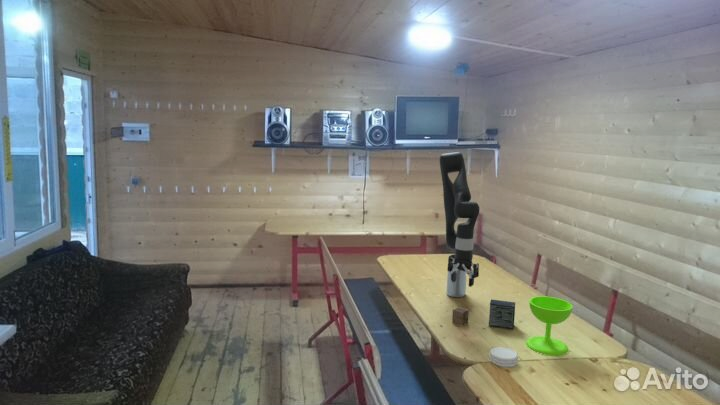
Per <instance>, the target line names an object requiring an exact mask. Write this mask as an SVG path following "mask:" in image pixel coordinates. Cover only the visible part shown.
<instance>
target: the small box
mask: <svg viewBox="0 0 720 405" xmlns="http://www.w3.org/2000/svg"><path fill="white" fill-rule="evenodd" d="M515 314H516V302H514V301H507V300H498V299H490V302H489V315H488V316H489V317H488V327H493V328H499V329H506V330H512V331H513V330H514V327H515Z"/></svg>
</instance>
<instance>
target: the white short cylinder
mask: <svg viewBox="0 0 720 405" xmlns="http://www.w3.org/2000/svg"><path fill="white" fill-rule="evenodd" d="M518 358H519V355H518V352H516V351H515V350H514V349H511V348H508V347H503V346H502V347H501V346H498V347H497V346H496V347H493V348H492V349H491V350H490V351H489V360H490V362H491V363H492V364H494V365H495V364H496V366H498V367H501V366H502V368H513V367H516V366H517V365H518V360H519V359H518Z"/></svg>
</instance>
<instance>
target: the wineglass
mask: <svg viewBox="0 0 720 405" xmlns="http://www.w3.org/2000/svg"><path fill="white" fill-rule="evenodd" d="M528 302H529V303H528V304H529V309H530V311H531V313H532V315H533V316H534V317H535V318H536V319H537V320H538V321H540V322H542V323H544V324H546V325H545V335H544V336H538V335H537V336H532V337H529V338H528V339H527V340H526V341H525V345H527V346H526V347H527V348H528V349H529V348H530V349H529V350H531V351H532V350H533V351H532V352H534V351H535V353H537V352H539V353H538V354H540V353H542V354H541V355H544V354H545V356H549V355H550V356H551V357H560V356H559V355H562V356H564V355H563V354H565V355H567V354H568V353H569V351H568V350H569V347H568V346H567V345H566V343H564V342H562V341H561V340H559V339H556V338H553V337H551V334H552V333H551V332H552V325H558V324H561V323H563V322H565V321H566V320H567V319H569V317H570V315H571V314H572V312H573V307H574V306H573V304H572V303H570V302H569V301H568V300H565V299H562V298H559V297H553V296H546V295H545V296H543V295H540V296H533V297H531V298H529V300H528ZM567 352H568V353H567ZM566 353H567V354H566Z"/></svg>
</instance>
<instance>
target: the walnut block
mask: <svg viewBox="0 0 720 405" xmlns="http://www.w3.org/2000/svg"><path fill="white" fill-rule="evenodd" d="M469 312H470V311H469V309H466V308H463V307H460V306H458V307H456V308H453V309H452V315H451V316H452V318H451V319H452V320H451V323H452V324H455V325H457V324H458V326H461V327H463V326H464V325H467V324H468V323H469V314H470V313H469Z"/></svg>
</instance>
